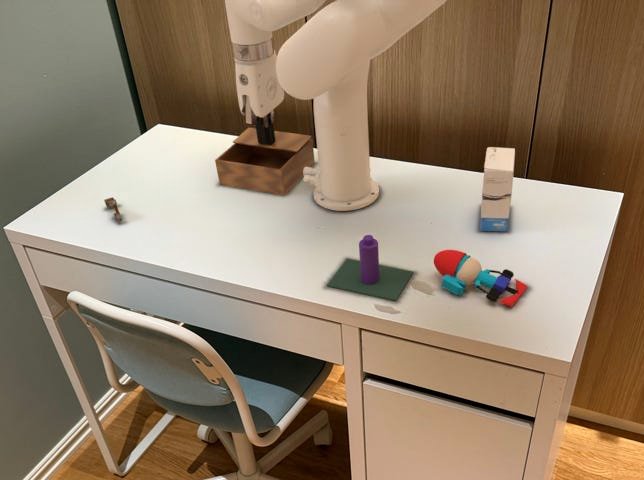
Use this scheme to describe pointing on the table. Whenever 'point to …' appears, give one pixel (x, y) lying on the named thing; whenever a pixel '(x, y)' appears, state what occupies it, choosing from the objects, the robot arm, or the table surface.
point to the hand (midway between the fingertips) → (266, 142)
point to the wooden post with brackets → (112, 203)
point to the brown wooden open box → (263, 167)
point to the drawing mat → (385, 288)
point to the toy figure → (474, 276)
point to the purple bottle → (369, 260)
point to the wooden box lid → (282, 141)
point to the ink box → (497, 189)
